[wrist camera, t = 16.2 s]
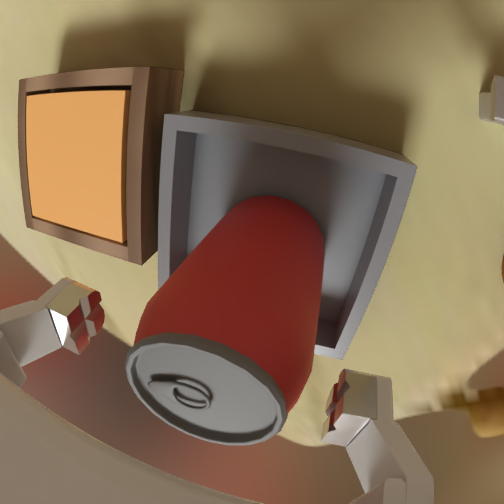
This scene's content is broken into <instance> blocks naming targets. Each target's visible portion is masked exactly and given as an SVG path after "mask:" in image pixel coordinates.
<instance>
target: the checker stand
mask: <svg viewBox="0 0 504 504" xmlns="http://www.w3.org/2000/svg"><path fill="white" fill-rule="evenodd" d="M183 75H184V71H182V70H174V69H166V68H157V67H121V68H104V69H91V70H81V71H72V72H64V73H56V74H49V75H43V76H37V77H31V78H26V79H21V80H19V95H18V148H19V166H20V178H21V188H22V197H23V205H24V212H25V219H26V225H27V227H28V228H31V229H34V230H36V231H39V232H42V233H45V234H48V235H51V236H53V237H56V238H59V239H62V240H65V241H68V242H71V243H74V244H77V245H80V246H83V247H86V248H89V249H92V250H95V251H98V252H101V253H104V254H107V255H110V256H113V257H116V258H119V259H122V260H126V261H129V262H132V263H135V264H138V265H141V266H142V265H143V264H144V263H145V262H146V261H147V260H148V259H149V258H150V257H151V256H152V255H153V254H154V253H156V252H157V251H158V211H159V184H160V165H161V150H162V137H163V125H164V114H168V113H175V112H179V107H180V99H181V90H182V83H183ZM90 90H131V97H130V109H129V123H128V141H127V171H126V213H127V240H126V241H124V242H123V243H121V242H118V241H114V240H111V239H108V238H104V237H101V236H98V235H94V234H91V233H88V232H84V231H81V230H78V229H74V228H71V227H68V226H65V225H61V224H58V223H55V222H52V221H48V220H45V219H42V218H39V217H36V216H33V214H32V207H31V199H30V189H29V179H28V165H27V145H26V103H27V96H30V95H36V94H45V93H56V92H70V91H90Z"/></svg>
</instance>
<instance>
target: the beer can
mask: <svg viewBox="0 0 504 504" xmlns="http://www.w3.org/2000/svg"><path fill="white" fill-rule="evenodd" d="M324 260H325V247H324V237H323V235H322V233H321V230H320V228H319V226H318V223H317V222H316V221H315V219H314V218H313V217H312V216H311V215H310V214H309V213H308V212H307V211H306V209H304V208H303V207H301V206H299V205H298V204H296V203H294V202H293V201H291V200H289V199H285V198H281V197H277V196H272V195H267V196H254V197H251V198H249V199H246V200H244V201H242V202H239V203H237V204H236V205H235V206H234V207H233V208H232V209H231V210H230V211H229V212H228V213H227V214H226V215H225V216H224V217H223V218H222V219H221V220H220V221H219V222H218V223H217V224H216V225H215V227H214V228H213V229H212V230H211V231H210V232H209V233H208V234H207V235H206V236H205V238H204V239H203V240H202V241H201V242H200V243H199V244H198V245H197V247H196V248H195V249H194V250H193V251H192V252H191V253H190V254H189V256H188V257H187V258H186V259H185V260H184V261H183V262H182V263H181V265H180V266H179V267H178V268H177V269H176V270H175V271H174V273H173V274H172V275H171V276H170V277H169V278H168V279H167V281H166V282H165V283H164V284H163V285H162V286H161V288H160V289H159V290H158V291H157V292H156V293H155V295H154V296H153V297H152V298H151V299H150V300H149V302H148V303H147V305H146V307H145V310H144V312H143V314H142V317H141V320H140V323H139V326H138V329H137V332H136V336H135V341H134V346H133V347H131V348H130V350H129V351H128V354H127V358H126V361H125V368H126V373H127V378H128V380H129V383H130V385H131V387H132V388H133V390H134V392H135V393H136V395H137V397H138V398H139V399H140V400H141V401H142V402H143V403H144V405H145V406H146V407H148V409H149V410H150V411H151V412H152V413H154V414H155V415H156V416H158V417H159V418H160V419H162V420H163V421H164V422H166V423H167V424H169V425H170V426H172V427H174V428H176V429H178V430H180V431H182V432H184V433H186V434H188V435H191V436H193V437H196V438H199V439H202V440H205V441H208V442H213V443H219V444H224V445H250V444H254V443H259V442H263V441H266V440H268V439H270V438H271V437H273V436H274V435H276V434H277V433H279V432H280V431H281V429H282V427H283V425H284V423H285V421H286V419H287V416H288V413H289V411H290V410H291V409H292V408H293V406H294V405H295V404H296V402H297V401H298V399H299V397H300V395H301V393H302V391H303V389H304V386H305V384H306V382H307V380H308V378H309V375H310V373H311V370H312V364H313V357H314V349H315V342H316V334H317V326H318V318H319V310H320V301H321V291H322V281H323V271H324Z"/></svg>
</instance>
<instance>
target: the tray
mask: <svg viewBox="0 0 504 504" xmlns="http://www.w3.org/2000/svg"><path fill="white" fill-rule="evenodd" d="M416 169H417V166H416V165H415V164H414V163H412V162H411V161H410V160H409V159H407V158H406V157H405V156H404V155H402V154H399V153H396V152H393V151H390V150H387V149H383V148H380V147H376V146H373V145H369V144H366V143H362V142H359V141H355V140H351V139H347V138H343V137H340V136H336V135H331V134H327V133H323V132H319V131H314V130H310V129H305V128H301V127H296V126H291V125H286V124H281V123H275V122H270V121H264V120H259V119H253V118H246V117H240V116H233V115H226V114H219V113H211V112H202V111H193V110H191V111H183V112H175V113H168V114H164V125H163V137H162V150H161V165H160V184H159V211H158V290H159V289H160V288H161V286H162V285H163V284H164V283H165V282H166V281H167V279H168V278H169V277H170V276H171V275H172V274H173V273H174V271H175V270H176V269H177V268H178V267H179V266H180V265H181V263H182V262H183V261H184V260H185V259H186V258H187V257H188V256H189V254H190V253H191V252H192V251H193V250H194V249H195V248H196V247H197V245H198V244H199V243H200V242H201V241H202V240H203V239H204V238H205V236H206V235H207V234H208V233H209V232H210V231H211V230H212V229H213V228H214V227H215V225H216V224H217V223H218V222H219V221H220V220H221V219H222V218H223V217H224V216H225V215H226V214H227V213H228V212H229V211H230V210H231V209H232V208H233V207H234V206H235V205H236V204H237V203H239V202H242V201H244V200H246V199H249V198H251V197H254V196H267V195H272V196H277V197H281V198H285V199H289V200H291V201H293V202H294V203H296V204H298V205H299V206H301V207H303V208H304V209H306V211H307V212H308V213H309V214H310V215H311V216H312V217H313V218H314V219H315V221H316V222H317V223H318V226H319V228H320V230H321V233H322V235H323V237H324V247H325V260H324V271H323V281H322V291H321V301H320V310H319V318H318V326H317V334H316V342H315V349H314V354H318V355H322V356H327V357H331V358H336V359H340V360H343V358H344V356H345V354H346V352H347V350H348V348H349V346H350V344H351V342H352V340H353V338H354V335H355V333H356V331H357V329H358V327H359V325H360V322H361V320H362V318H363V316H364V313H365V311H366V309H367V307H368V304H369V302H370V300H371V297H372V295H373V293H374V290H375V288H376V285H377V283H378V280H379V278H380V275H381V273H382V270H383V268H384V265H385V263H386V260H387V257H388V255H389V252H390V249H391V247H392V244H393V241H394V238H395V236H396V233H397V230H398V227H399V224H400V221H401V218H402V215H403V212H404V209H405V206H406V203H407V200H408V196H409V193H410V190H411V186H412V183H413V180H414V176H415V173H416Z"/></svg>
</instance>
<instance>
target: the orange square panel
mask: <svg viewBox="0 0 504 504" xmlns="http://www.w3.org/2000/svg"><path fill="white" fill-rule="evenodd" d="M130 97H131V90H90V91H70V92H56V93H45V94H36V95H30V96H27V103H26V145H27V165H28V179H29V189H30V199H31V207H32V214H33V216H36V217H39V218H42V219H45V220H48V221H52V222H55V223H58V224H61V225H65V226H68V227H71V228H74V229H78V230H81V231H84V232H88V233H91V234H94V235H98V236H101V237H104V238H108V239H111V240H114V241H118V242H121V243H123V242H124V241H126V240H127V213H126V171H127V141H128V123H129V109H130Z"/></svg>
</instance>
